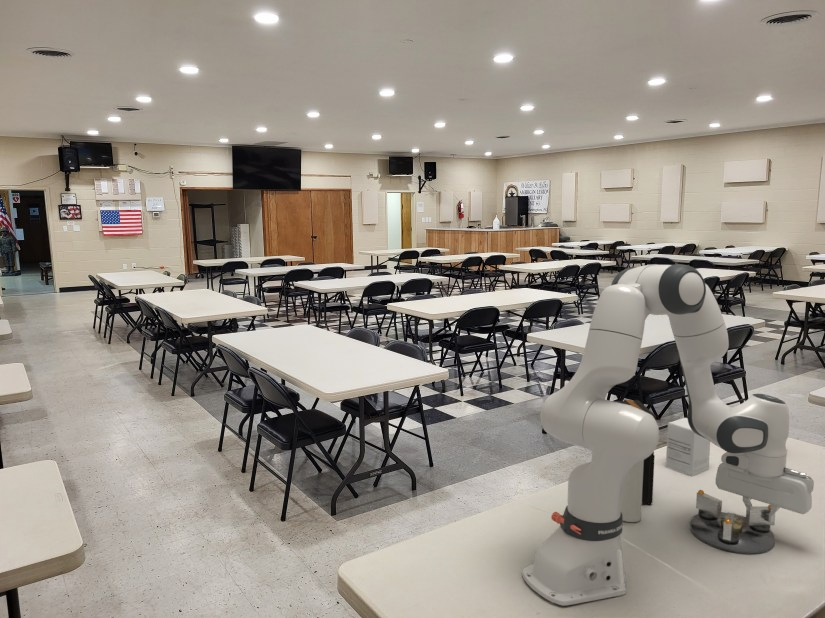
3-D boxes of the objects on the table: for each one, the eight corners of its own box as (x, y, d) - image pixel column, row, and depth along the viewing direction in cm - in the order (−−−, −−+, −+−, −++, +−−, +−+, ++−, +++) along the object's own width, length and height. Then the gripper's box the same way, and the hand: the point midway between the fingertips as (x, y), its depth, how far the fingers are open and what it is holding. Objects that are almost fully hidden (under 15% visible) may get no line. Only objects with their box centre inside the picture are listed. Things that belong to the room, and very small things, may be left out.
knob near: (719, 531, 148) (721, 507, 147) (740, 536, 145) (741, 512, 144) (715, 542, 143) (717, 517, 142) (737, 547, 140) (738, 522, 139)
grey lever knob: (751, 533, 147) (753, 509, 146) (742, 524, 151) (743, 500, 150) (777, 532, 147) (779, 508, 146) (767, 524, 151) (769, 500, 150)
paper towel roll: (627, 525, 155) (631, 442, 152) (610, 514, 160) (613, 435, 157) (649, 519, 158) (653, 438, 155) (632, 509, 163) (635, 431, 160)
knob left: (724, 519, 153) (726, 496, 153) (712, 523, 152) (713, 500, 151) (703, 509, 159) (704, 487, 158) (691, 513, 157) (692, 490, 156)
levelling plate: (740, 561, 138) (741, 544, 137) (673, 526, 154) (674, 510, 153) (791, 543, 146) (792, 526, 145) (723, 511, 162) (724, 496, 161)
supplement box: (682, 463, 194) (684, 416, 192) (709, 472, 187) (712, 424, 185) (664, 469, 189) (666, 422, 187) (691, 479, 182) (694, 430, 180)
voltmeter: (656, 506, 165) (661, 415, 161) (623, 506, 165) (627, 415, 162) (637, 482, 180) (641, 398, 177) (607, 481, 181) (610, 398, 177)
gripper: (818, 471, 141) (813, 529, 143) (725, 447, 156) (721, 499, 158) (809, 479, 137) (804, 538, 139) (714, 453, 152) (711, 507, 154)
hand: (759, 517), depth 149 cm, fingers closed on grey lever knob, 2 cm apart
